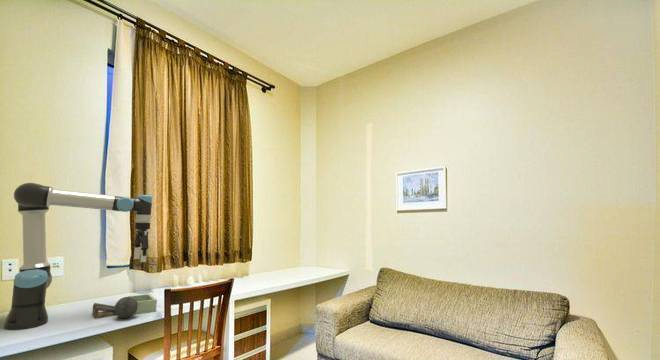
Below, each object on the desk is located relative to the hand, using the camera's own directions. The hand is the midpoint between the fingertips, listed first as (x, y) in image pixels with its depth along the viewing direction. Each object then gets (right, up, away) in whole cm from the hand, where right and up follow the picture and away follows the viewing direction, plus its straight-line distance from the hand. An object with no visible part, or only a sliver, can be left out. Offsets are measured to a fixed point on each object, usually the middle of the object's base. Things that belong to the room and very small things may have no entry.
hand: (139, 260), depth 196 cm
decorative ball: (+6, -23, -24) cm, 34 cm away
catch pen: (+6, -24, -10) cm, 27 cm away
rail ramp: (-6, -23, -20) cm, 31 cm away
